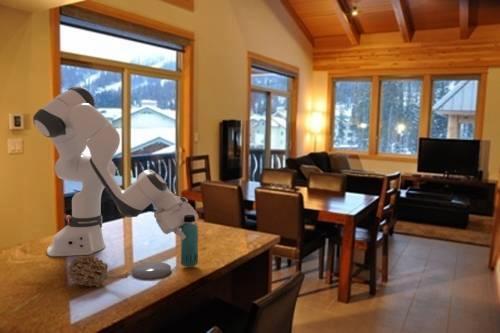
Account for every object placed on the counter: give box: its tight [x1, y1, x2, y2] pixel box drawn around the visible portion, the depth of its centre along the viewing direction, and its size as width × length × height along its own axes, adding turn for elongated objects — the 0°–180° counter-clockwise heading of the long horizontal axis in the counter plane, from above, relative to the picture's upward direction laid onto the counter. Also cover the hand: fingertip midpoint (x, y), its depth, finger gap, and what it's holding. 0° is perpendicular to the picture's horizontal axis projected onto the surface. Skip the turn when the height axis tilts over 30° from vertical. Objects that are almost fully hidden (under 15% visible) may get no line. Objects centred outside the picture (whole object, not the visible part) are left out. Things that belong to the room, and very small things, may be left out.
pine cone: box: [67, 255, 130, 288], centre depth 138 cm, size 22×10×10 cm, turn 82°
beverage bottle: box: [180, 215, 199, 268], centre depth 156 cm, size 6×7×20 cm
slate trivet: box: [130, 261, 172, 280], centre depth 152 cm, size 14×14×1 cm
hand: (190, 235), depth 155 cm, fingers closed on beverage bottle, 6 cm apart
